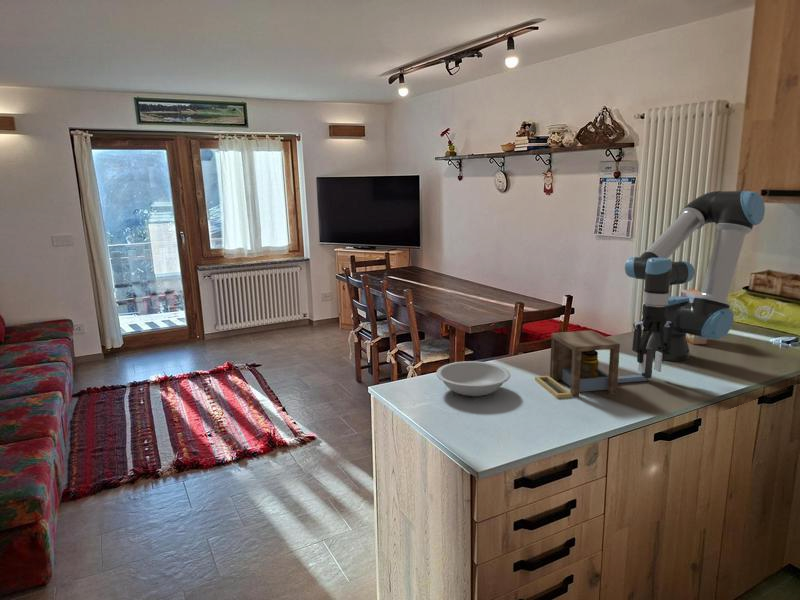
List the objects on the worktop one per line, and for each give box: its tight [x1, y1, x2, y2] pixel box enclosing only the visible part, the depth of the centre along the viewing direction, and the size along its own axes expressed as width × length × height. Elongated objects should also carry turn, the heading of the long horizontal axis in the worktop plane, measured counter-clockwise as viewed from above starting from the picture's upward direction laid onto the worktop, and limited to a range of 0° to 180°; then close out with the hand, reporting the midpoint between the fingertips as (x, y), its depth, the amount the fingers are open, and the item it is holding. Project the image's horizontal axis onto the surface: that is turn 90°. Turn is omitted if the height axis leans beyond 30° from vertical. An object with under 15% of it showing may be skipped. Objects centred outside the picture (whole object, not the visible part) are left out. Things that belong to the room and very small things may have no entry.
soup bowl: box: [435, 360, 511, 397], centre depth 177 cm, size 24×24×7 cm
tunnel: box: [549, 329, 621, 398], centre depth 179 cm, size 15×17×16 cm
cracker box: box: [680, 289, 708, 345], centre depth 227 cm, size 14×6×21 cm, turn 179°
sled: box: [561, 347, 654, 393], centre depth 181 cm, size 30×11×11 cm, turn 100°
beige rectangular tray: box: [534, 375, 573, 399], centre depth 178 cm, size 5×17×1 cm, turn 10°
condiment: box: [580, 350, 600, 379], centre depth 179 cm, size 7×8×12 cm
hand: (649, 371), depth 184 cm, fingers open, 5 cm apart
